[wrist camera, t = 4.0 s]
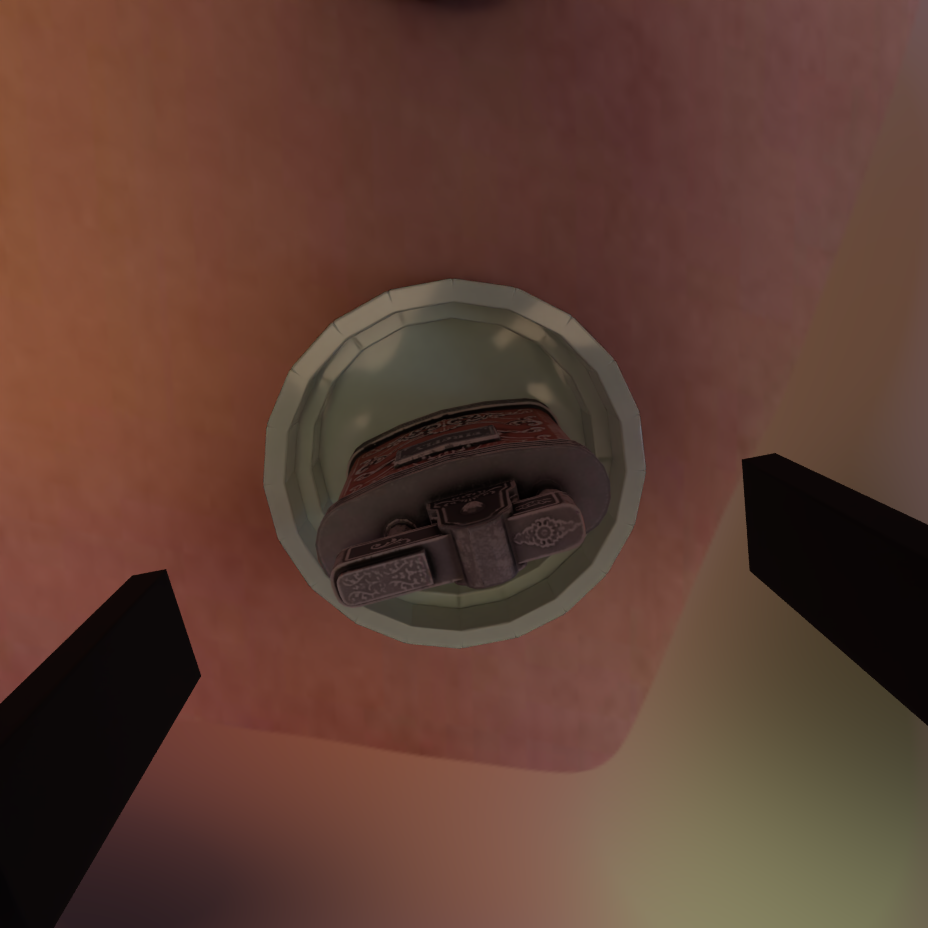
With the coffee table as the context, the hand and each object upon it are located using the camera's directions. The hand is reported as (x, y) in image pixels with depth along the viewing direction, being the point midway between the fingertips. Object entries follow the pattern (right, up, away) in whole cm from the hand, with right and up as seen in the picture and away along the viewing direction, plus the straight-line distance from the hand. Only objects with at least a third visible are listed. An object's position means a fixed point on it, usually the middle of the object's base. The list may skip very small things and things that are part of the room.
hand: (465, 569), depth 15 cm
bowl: (0, +3, +10) cm, 11 cm away
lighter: (0, +3, +10) cm, 11 cm away
